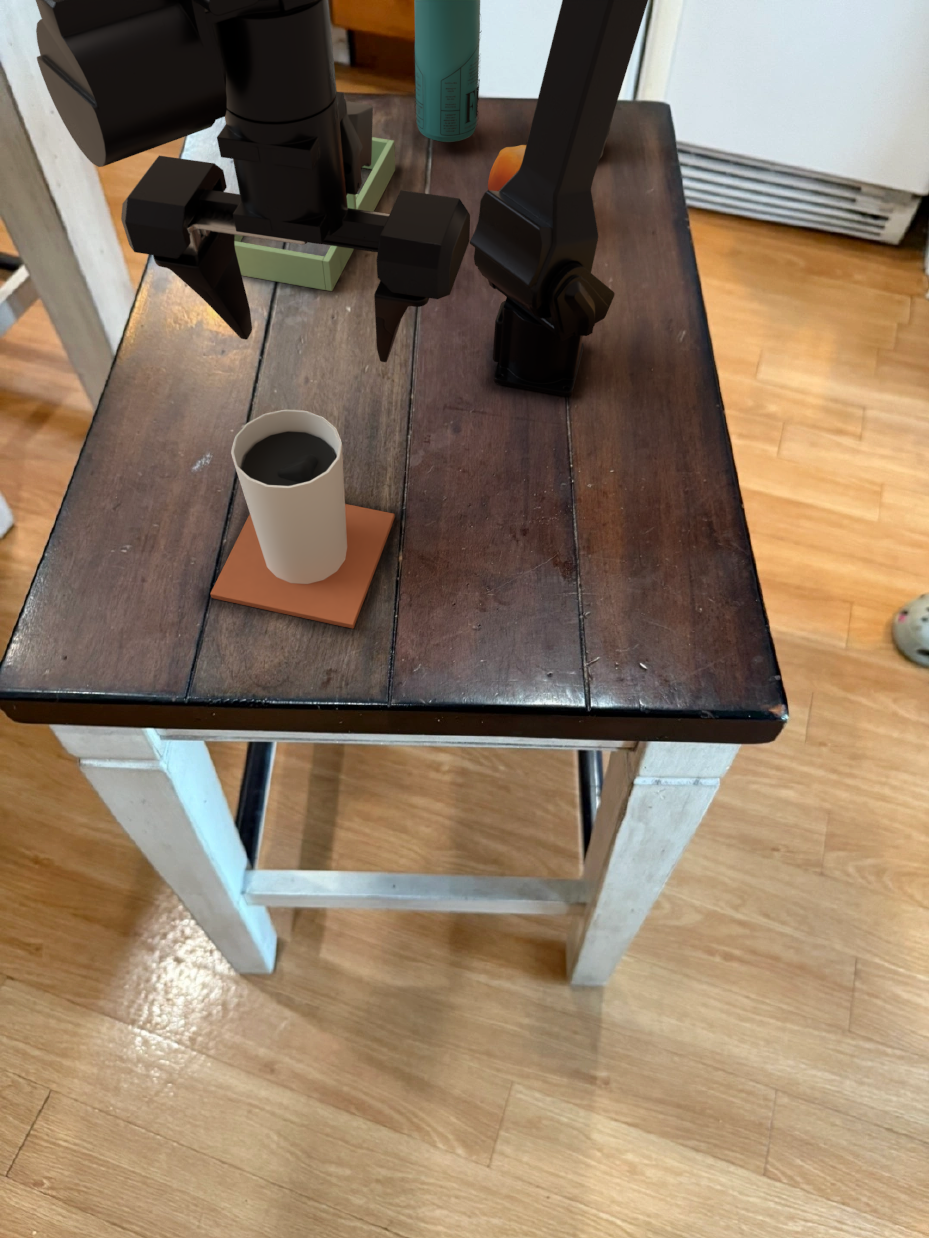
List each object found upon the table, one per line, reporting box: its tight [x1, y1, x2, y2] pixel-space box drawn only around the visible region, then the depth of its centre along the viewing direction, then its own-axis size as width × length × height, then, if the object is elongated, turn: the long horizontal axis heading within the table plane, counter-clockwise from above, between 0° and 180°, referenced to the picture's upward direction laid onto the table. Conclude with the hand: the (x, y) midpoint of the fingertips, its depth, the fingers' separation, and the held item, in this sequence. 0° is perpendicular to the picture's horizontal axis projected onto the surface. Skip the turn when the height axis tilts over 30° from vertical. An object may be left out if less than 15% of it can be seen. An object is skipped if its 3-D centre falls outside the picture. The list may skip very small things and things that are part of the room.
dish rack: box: [235, 136, 396, 292], centre depth 85 cm, size 11×20×7 cm, turn 167°
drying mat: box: [210, 503, 396, 630], centre depth 64 cm, size 10×10×1 cm
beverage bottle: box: [412, 0, 483, 143], centre depth 88 cm, size 6×7×20 cm
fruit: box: [487, 144, 527, 191], centre depth 86 cm, size 8×8×8 cm
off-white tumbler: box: [230, 409, 347, 584], centre depth 60 cm, size 7×7×10 cm
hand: (315, 346), depth 59 cm, fingers open, 9 cm apart
